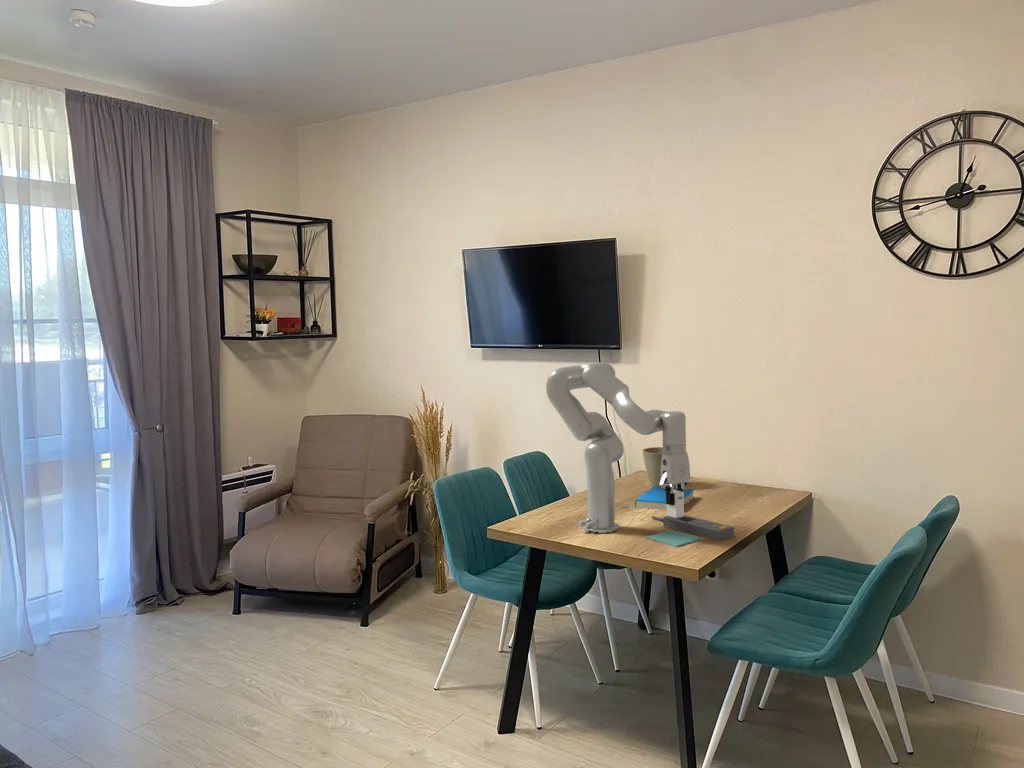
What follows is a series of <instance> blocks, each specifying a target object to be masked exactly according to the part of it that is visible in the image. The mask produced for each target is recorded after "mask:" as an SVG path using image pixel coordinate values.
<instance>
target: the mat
mask: <svg viewBox="0 0 1024 768" xmlns="http://www.w3.org/2000/svg"><path fill="white" fill-rule="evenodd" d="M645 538H646V539H647V538H649V539H648V540H650V539H652V540H651V541H654V540H656V541H655V542H657V541H659V542H658V543H660V542H662V544H664V543H665V544H664V545H667V544H668V545H667V546H671V545H672V546H671V547H674V546H675V548H678V547H677V546H679V547H682V546H686V545H688V543H689V544H693V543H695V542H698V540H699V541H701V539H702V540H703V537H702V536H698V535H697V536H696V535H695V534H691V533H687V532H686V533H685V532H684V531H682V532H681V531H680V530H676V529H675V530H674V529H669V530H665V531H663V532H659V533H655V534H651V535H648V536H646V537H645ZM685 544H686V545H685ZM681 545H682V546H681Z"/></svg>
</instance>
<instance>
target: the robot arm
mask: <svg viewBox="0 0 1024 768" xmlns="http://www.w3.org/2000/svg"><path fill="white" fill-rule="evenodd" d="M584 388H585V389H586V388H590V389H591V390H592V391H593V392H594V393H596V394H598V395H599V396H600V397H601V398H602V399H603V400H605V401H606V402H607V403H609V404H610V405H611V406H612V407H613V409H614V411H615V413H616V414H617V416H618V417H619V418H620V419H621V420H622V421H623V422H624V423H625V424H626V425H627V426H628V427H630V428H631V429H632V430H634V431H635V432H636V433H638V434H640V435H643V436H648V435H651V434H654V433H659V432H662V447H663V448H662V450H663V454H662V460H661V482H660V484H659V485H660V487H662V488H663V489H664V491H665V492H666V504H669V505H675V497H674V493H673V489H674V488H677V491H682V492H684V490H685V489H686V487H687V484H688V482H689V481H690V479H691V467H690V466H691V465H690V457H689V453H688V452H687V435H686V434H687V432H686V431H687V429H686V428H687V425H686V424H687V423H686V421H687V420H686V415H685V413H684V412H682V411H677V410H674V411H673V410H671V411H666V410H661V409H651V410H647V411H646V410H644V409H643V408H641V407H640V406H639V405H638V404H636V402H634V400H633V399H632V397H631V395H630V388H629V386H628V385H627V384H625V383H624V382H623V381H622V380H621V379H619V378H618V377H617V376H616V371H615V368H614V367H613V366H612V365H611V364H610V363H608V362H604V361H601V362H594V363H593V362H592V363H587V364H580V365H572V366H565V367H564V366H563V367H559V368H557V369H554V370H553V371H552V372H551V373H550V374H549V375H548V377H547V380H546V384H545V390H546V395H547V398H548V400H549V402H550V404H552V406H553V407H554V408H555V410H556V412H557V413H558V415H559V416H560V417H561V419H562V420H563V422H564V424H565V425H566V427H567V428H568V429H569V432H571V434H572V436H573V437H574V438H575V439H576V440H577V441H579V442H586V441H591V442H590V443H589V444H588V445H587V446H586V448H585V450H584V462H585V463H584V464H585V468H586V485H587V486H586V487H587V488H586V493H587V495H586V496H587V498H586V499H587V505H586V506H587V515H586V516H585V519H584V520H581V521H578V522H577V527H579V528H582V529H583V530H585V531H587V532H590V531H591V532H590V533H595V532H598V533H597V534H604V533H605V534H607V532H609V533H614V532H617V531H618V530H620V525H619V523H617V522H615V521H616V519H615V517H616V514H615V474H614V468H613V465H612V464H613V463H616V462H617V461H619V460H620V459H621V458H623V455H624V450H625V449H624V448H625V447H624V444H623V442H622V440H621V439H620V437H619V436H618V434H617V433H616V431H615V430H614V429H613V427H612V426H611V424H610V423H609V422H608V420H607V419H606V418H605V417H604V416H603V415H602V414H601V413H599V412H597V411H589V412H588V411H587V410H586V409H585V408H584V406H583V405H582V403H581V402H580V400H579V399H578V398H577V397H576V396H574V395H573V394H572V392H571V391H573V390H577V389H584ZM669 487H670V488H669ZM613 531H614V532H613Z"/></svg>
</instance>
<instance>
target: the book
mask: <svg viewBox="0 0 1024 768" xmlns="http://www.w3.org/2000/svg"><path fill="white" fill-rule="evenodd" d="M669 488H670V486H669ZM673 490H677V488H676V487H674V489H673ZM694 490H695V489H690V488H685V490H684V504H686V503H687V502H688V501H689V500H690V499H691V498H692V497H693V498H694ZM693 498H692V499H693ZM692 499H691V500H692ZM691 500H690V501H691ZM690 501H689V502H690ZM689 502H688V503H689ZM688 503H687V504H688ZM687 504H686V505H687ZM634 506H635V508H636V507H637V508H636V509H640V508H648V509H647V510H650V509H659V510H667V504H666V492H665V491H664V489H663V488H662V487H660V486H654V487H653V486H652V487H651V488H650V489H648V490H647V491H646V492H644V493H643V494H642V495H639V497H638V498H636V499H635V502H634ZM659 510H658V511H659Z"/></svg>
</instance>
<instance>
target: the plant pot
mask: <svg viewBox="0 0 1024 768" xmlns="http://www.w3.org/2000/svg"><path fill="white" fill-rule="evenodd" d="M662 448H663V446H655V447H647V448H643V449H642V456H643V462H644V466H645V470H646V473H647V474H646V475H647V477H648V481H649V482H650V485H651V487H653V486H660V485H659V484H660V482H661V460H662V454H663V450H662Z"/></svg>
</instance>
